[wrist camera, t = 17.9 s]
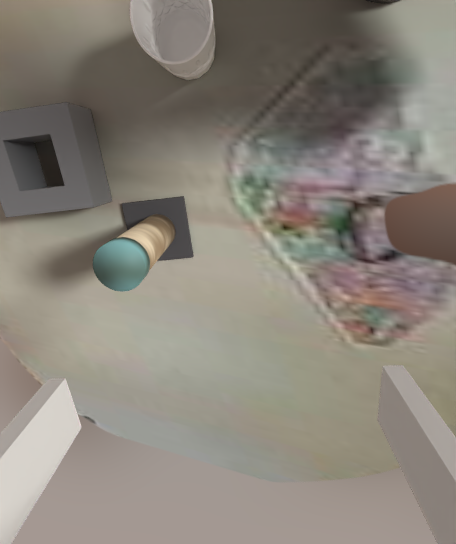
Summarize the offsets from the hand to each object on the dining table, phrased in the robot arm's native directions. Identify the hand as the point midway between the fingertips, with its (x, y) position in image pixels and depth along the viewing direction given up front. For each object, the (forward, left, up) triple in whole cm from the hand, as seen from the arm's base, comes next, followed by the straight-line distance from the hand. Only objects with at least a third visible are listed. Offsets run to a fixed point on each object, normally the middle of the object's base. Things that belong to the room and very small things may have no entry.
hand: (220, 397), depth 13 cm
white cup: (-23, -4, -35) cm, 42 cm away
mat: (0, -12, -35) cm, 37 cm away
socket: (-12, -24, -35) cm, 44 cm away
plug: (-1, -12, -35) cm, 36 cm away
